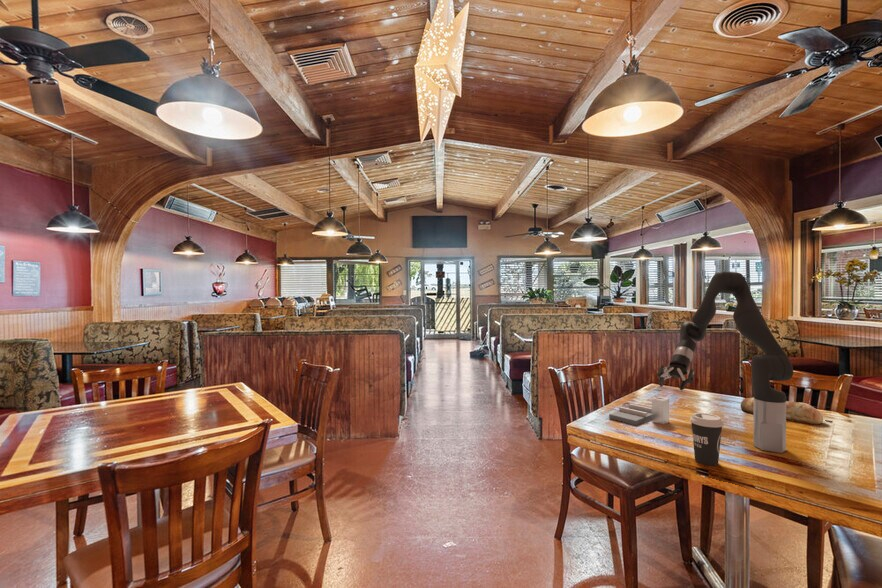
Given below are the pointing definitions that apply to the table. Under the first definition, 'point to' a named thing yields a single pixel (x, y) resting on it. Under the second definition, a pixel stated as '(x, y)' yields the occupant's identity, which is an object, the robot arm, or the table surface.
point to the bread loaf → (792, 411)
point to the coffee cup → (706, 437)
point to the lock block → (660, 410)
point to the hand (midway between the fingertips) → (670, 387)
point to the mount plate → (633, 414)
